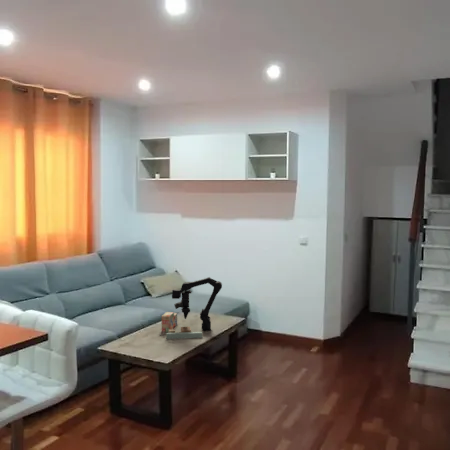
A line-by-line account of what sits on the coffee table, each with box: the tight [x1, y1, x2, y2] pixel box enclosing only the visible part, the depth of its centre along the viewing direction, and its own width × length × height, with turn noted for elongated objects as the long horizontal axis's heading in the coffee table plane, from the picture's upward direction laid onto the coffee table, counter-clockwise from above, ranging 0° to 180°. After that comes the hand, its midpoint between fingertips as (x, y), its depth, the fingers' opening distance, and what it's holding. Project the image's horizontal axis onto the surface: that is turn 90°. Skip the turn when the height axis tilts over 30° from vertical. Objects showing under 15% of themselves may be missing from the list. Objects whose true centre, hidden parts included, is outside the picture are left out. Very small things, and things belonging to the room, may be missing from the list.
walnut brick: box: [180, 326, 192, 332], centre depth 365 cm, size 7×10×5 cm
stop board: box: [165, 331, 203, 340], centre depth 358 cm, size 26×3×4 cm, turn 97°
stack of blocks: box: [161, 311, 178, 333], centre depth 383 cm, size 21×6×12 cm, turn 169°
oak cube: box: [167, 328, 176, 333], centre depth 363 cm, size 4×4×4 cm
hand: (185, 318), depth 378 cm, fingers closed
